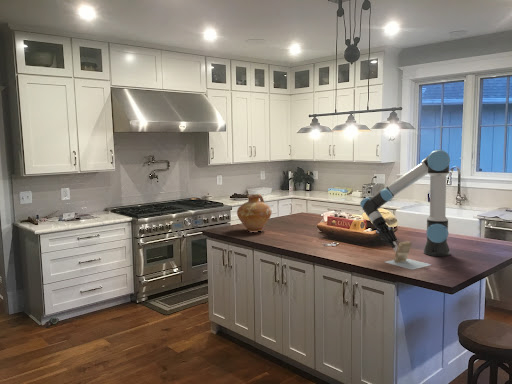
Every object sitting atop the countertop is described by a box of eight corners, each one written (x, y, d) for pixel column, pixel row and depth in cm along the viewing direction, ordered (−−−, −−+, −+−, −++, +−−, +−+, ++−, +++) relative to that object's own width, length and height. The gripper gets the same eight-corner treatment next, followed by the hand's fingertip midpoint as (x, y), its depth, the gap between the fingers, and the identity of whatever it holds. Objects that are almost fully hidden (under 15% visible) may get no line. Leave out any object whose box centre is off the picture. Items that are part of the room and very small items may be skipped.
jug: (230, 232, 361) (229, 195, 358) (251, 226, 383) (250, 192, 380) (258, 236, 344) (257, 197, 341) (278, 230, 366) (278, 193, 363)
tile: (393, 260, 260) (399, 242, 256) (402, 258, 264) (408, 240, 260) (396, 262, 258) (402, 244, 254) (406, 260, 262) (411, 242, 258)
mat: (383, 262, 261) (383, 261, 261) (403, 258, 270) (403, 257, 270) (411, 270, 244) (411, 269, 244) (431, 265, 253) (432, 264, 253)
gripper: (381, 222, 280) (402, 253, 267) (366, 224, 273) (387, 257, 260) (388, 215, 274) (410, 246, 262) (373, 217, 268) (394, 249, 255)
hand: (398, 251), depth 261 cm, fingers closed
